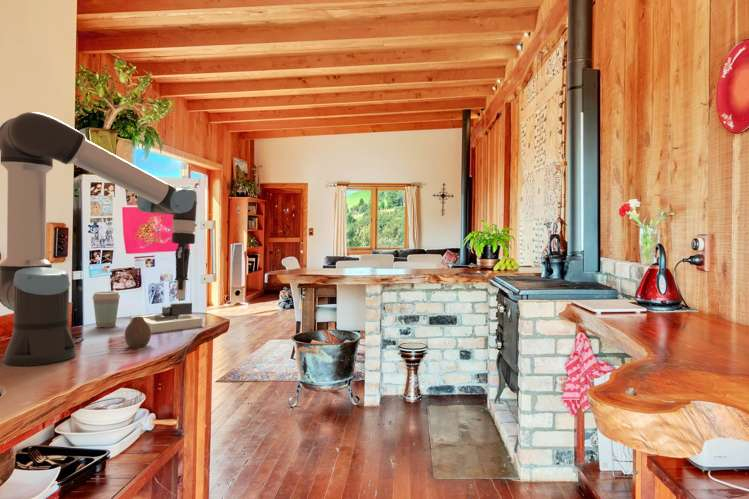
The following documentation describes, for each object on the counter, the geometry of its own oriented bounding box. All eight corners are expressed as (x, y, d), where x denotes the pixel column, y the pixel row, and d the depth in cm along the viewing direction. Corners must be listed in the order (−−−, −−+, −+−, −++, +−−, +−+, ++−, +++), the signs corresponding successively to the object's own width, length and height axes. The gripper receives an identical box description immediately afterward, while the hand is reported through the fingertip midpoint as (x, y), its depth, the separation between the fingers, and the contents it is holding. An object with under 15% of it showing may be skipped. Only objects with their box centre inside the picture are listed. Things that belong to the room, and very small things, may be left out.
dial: (156, 323, 163) (157, 306, 162) (152, 319, 169) (152, 303, 169) (193, 320, 170) (194, 303, 170) (188, 317, 176) (188, 301, 176)
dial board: (151, 333, 156) (152, 323, 155) (130, 325, 167) (130, 316, 167) (202, 326, 169) (202, 317, 169) (178, 319, 181) (178, 311, 181)
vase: (146, 342, 142) (146, 314, 141) (154, 347, 137) (154, 317, 136) (121, 346, 137) (121, 316, 137) (128, 350, 132) (129, 320, 132)
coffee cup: (124, 324, 168) (125, 291, 168) (109, 329, 159) (109, 294, 159) (102, 323, 169) (103, 290, 168) (86, 328, 160) (86, 293, 160)
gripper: (191, 232, 159) (188, 301, 159) (198, 233, 172) (195, 297, 172) (168, 231, 157) (165, 300, 157) (176, 232, 170) (173, 296, 170)
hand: (180, 298), depth 165 cm, fingers closed
